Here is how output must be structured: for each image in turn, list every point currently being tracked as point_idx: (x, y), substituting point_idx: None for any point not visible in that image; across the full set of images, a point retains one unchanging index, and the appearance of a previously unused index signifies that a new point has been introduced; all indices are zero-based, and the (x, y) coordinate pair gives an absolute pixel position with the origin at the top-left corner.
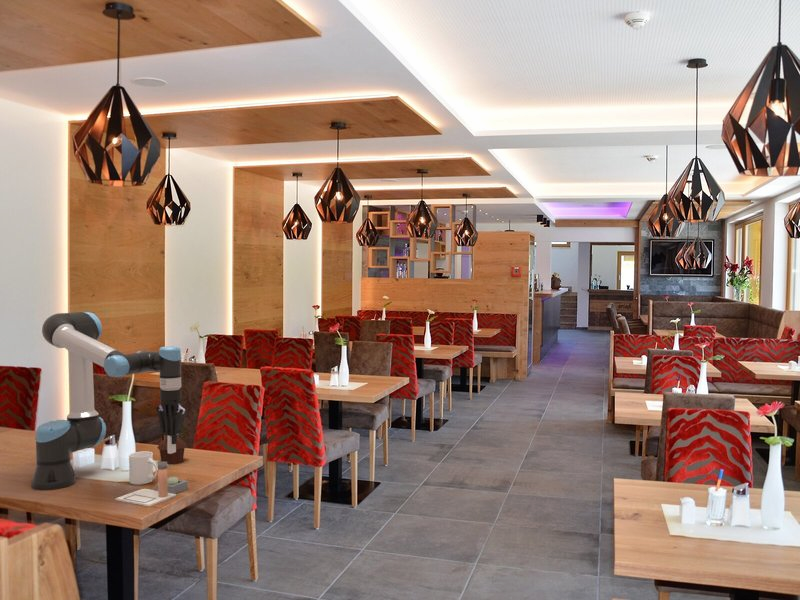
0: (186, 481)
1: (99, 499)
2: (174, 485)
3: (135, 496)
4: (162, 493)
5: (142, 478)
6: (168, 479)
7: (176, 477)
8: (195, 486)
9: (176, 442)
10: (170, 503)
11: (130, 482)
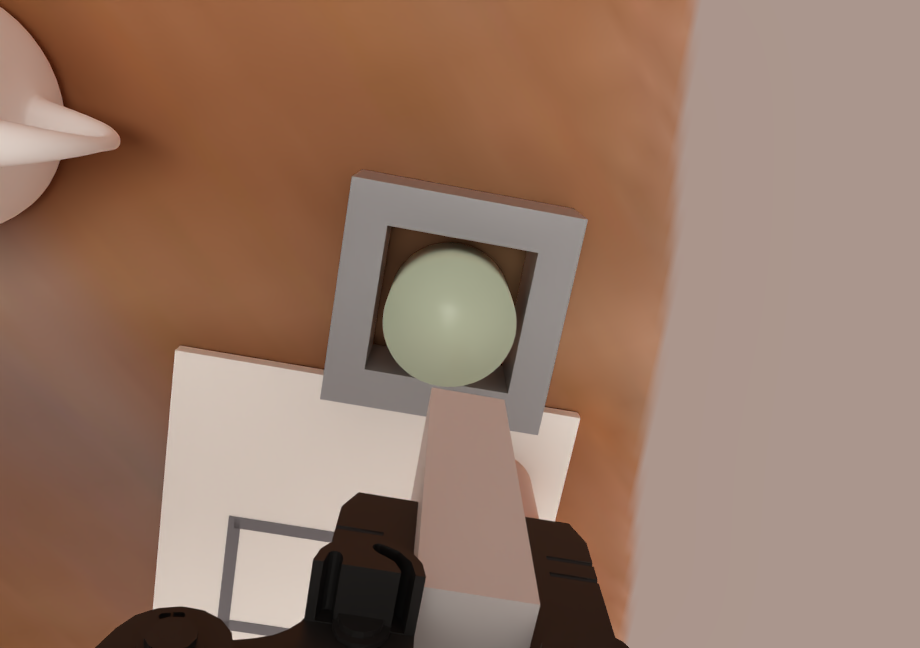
0: (582, 238)
1: (21, 639)
2: (534, 390)
3: (272, 555)
4: None
5: (9, 208)
6: (436, 365)
7: (477, 274)
8: (602, 105)
9: (580, 550)
10: (631, 579)
11: None
